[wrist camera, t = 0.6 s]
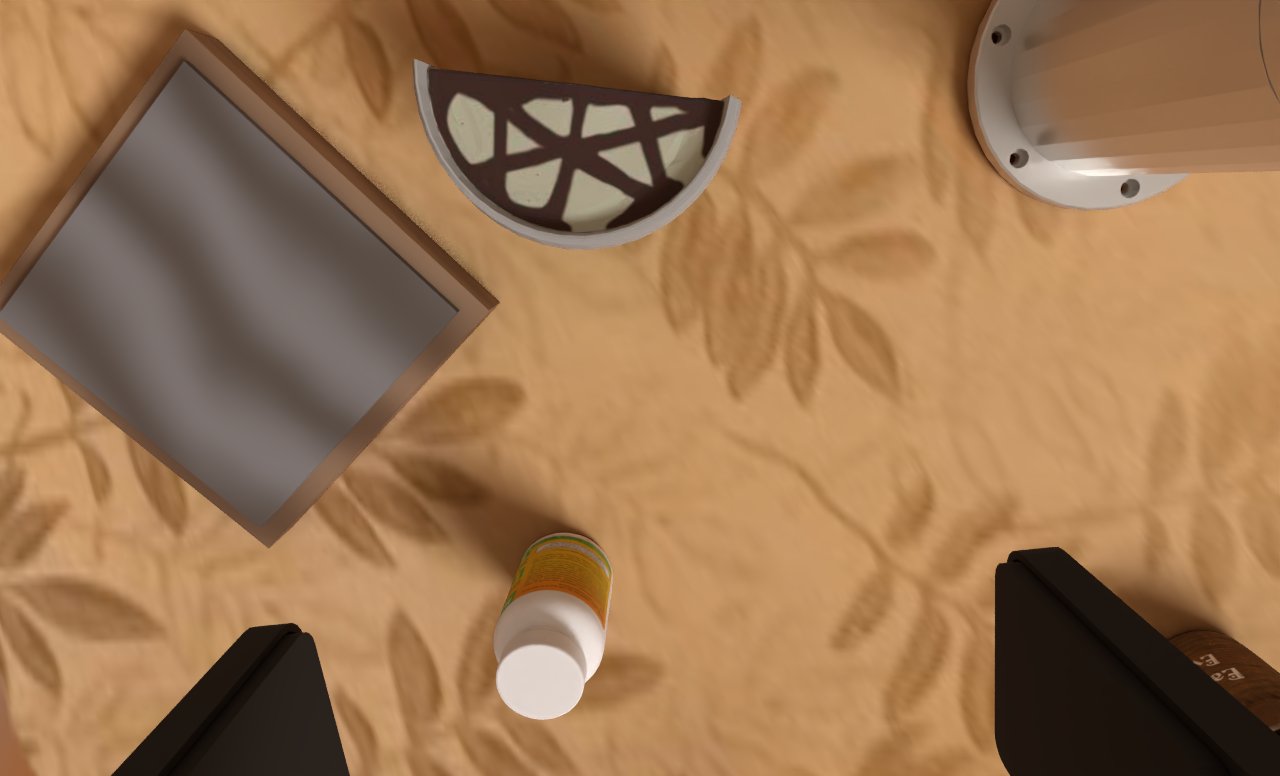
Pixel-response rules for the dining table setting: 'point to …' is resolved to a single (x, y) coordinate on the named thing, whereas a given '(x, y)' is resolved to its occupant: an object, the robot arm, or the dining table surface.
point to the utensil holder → (1236, 672)
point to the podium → (236, 292)
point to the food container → (572, 153)
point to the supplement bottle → (553, 625)
